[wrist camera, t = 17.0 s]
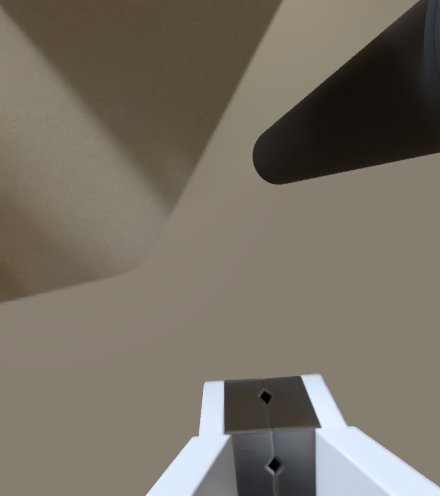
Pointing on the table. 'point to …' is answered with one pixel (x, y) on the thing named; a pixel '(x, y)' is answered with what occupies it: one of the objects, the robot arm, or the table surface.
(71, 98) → the table surface
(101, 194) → the table surface
